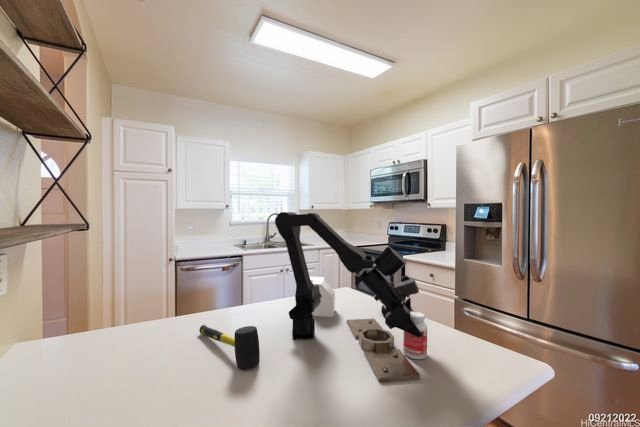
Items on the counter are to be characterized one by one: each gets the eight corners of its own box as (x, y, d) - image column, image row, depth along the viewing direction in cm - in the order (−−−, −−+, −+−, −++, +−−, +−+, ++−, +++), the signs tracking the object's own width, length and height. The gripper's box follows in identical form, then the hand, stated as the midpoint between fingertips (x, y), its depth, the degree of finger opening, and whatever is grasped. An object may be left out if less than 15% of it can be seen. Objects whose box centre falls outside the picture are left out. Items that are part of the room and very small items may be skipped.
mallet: (192, 337, 84) (192, 306, 84) (211, 331, 89) (211, 301, 89) (243, 376, 65) (243, 336, 65) (264, 366, 69) (264, 328, 69)
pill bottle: (427, 362, 71) (428, 319, 71) (403, 358, 73) (403, 316, 73) (426, 350, 77) (426, 311, 77) (403, 347, 79) (403, 309, 79)
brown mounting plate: (420, 379, 64) (420, 366, 64) (379, 382, 63) (379, 369, 63) (374, 321, 97) (374, 313, 97) (346, 322, 96) (346, 314, 96)
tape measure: (404, 317, 101) (404, 307, 101) (389, 321, 98) (390, 310, 98) (391, 311, 107) (391, 302, 107) (377, 314, 104) (377, 304, 104)
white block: (308, 305, 113) (308, 276, 113) (335, 306, 111) (335, 277, 111) (302, 315, 102) (303, 283, 102) (332, 317, 101) (333, 284, 101)
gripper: (399, 276, 67) (448, 327, 64) (402, 262, 85) (440, 302, 81) (367, 304, 70) (412, 354, 66) (376, 285, 87) (412, 324, 84)
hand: (420, 331), depth 74 cm, fingers closed on pill bottle, 6 cm apart
